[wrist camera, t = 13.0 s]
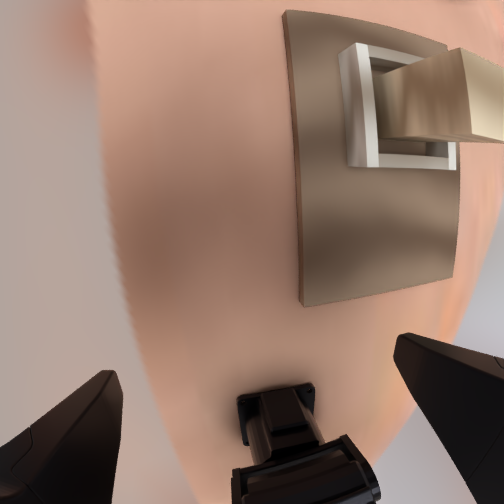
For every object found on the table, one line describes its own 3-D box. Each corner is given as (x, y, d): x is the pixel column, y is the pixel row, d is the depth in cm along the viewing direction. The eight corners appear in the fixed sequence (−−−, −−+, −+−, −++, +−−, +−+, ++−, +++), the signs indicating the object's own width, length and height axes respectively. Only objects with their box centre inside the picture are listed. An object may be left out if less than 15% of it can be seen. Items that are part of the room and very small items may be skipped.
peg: (415, 142, 19) (515, 144, 10) (370, 139, 18) (472, 133, 10) (411, 89, 18) (506, 70, 9) (365, 81, 17) (460, 47, 9)
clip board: (445, 273, 24) (471, 287, 20) (299, 301, 22) (316, 324, 18) (439, 47, 18) (466, 38, 15) (282, 15, 16) (297, -8, 13)
